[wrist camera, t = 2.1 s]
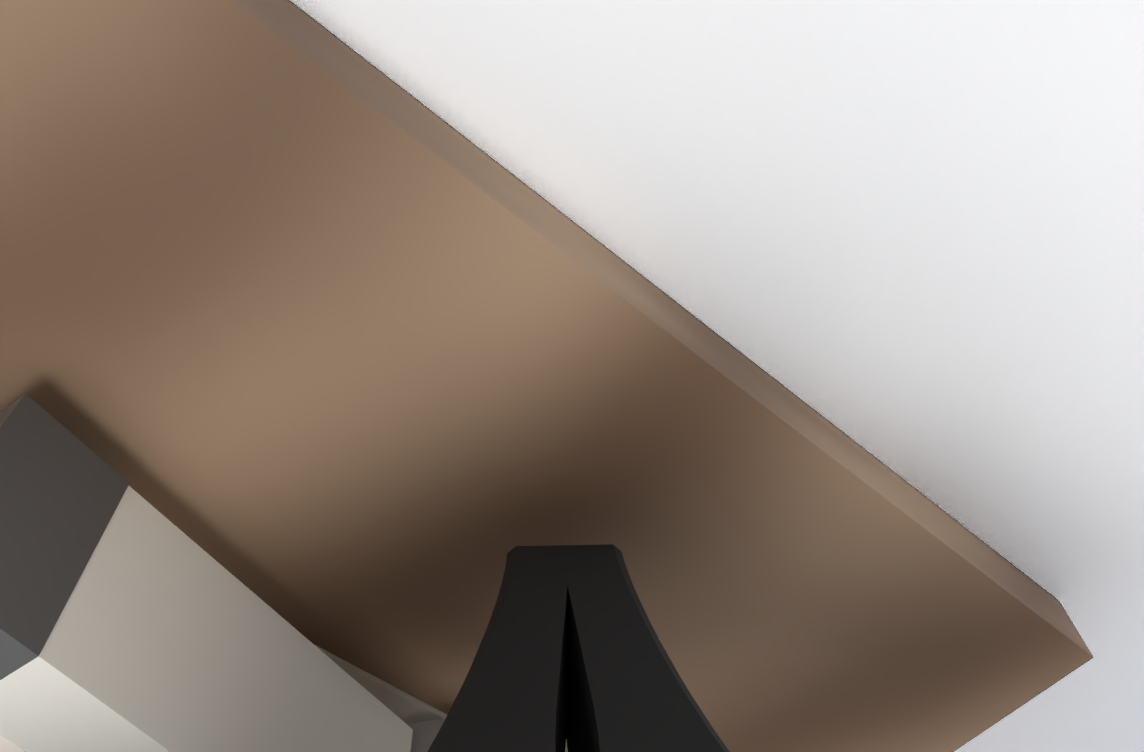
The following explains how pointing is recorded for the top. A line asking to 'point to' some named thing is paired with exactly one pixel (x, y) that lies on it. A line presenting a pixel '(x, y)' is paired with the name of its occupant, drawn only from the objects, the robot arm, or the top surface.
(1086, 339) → the top surface
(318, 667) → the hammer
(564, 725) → the robot arm
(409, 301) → the brown tray
